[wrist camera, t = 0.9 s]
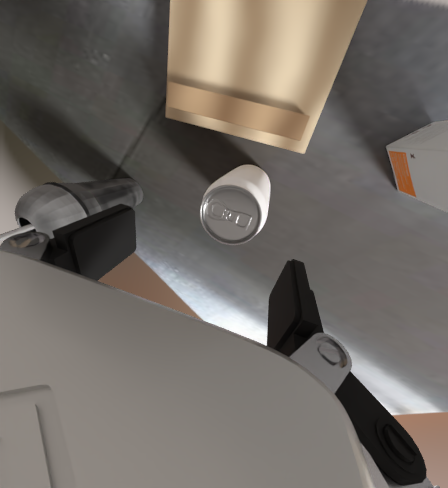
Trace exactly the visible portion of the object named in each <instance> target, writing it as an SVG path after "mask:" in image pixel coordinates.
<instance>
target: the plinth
mask: <svg viewBox="0 0 448 488" xmlns="http://www.w3.org/2000/svg"><path fill="white" fill-rule="evenodd" d="M366 3H367V0H170V19H169V43H168V68H167V92H166V117H167V118H171V119H174V120H178V121H182V122H186V123H190V124H193V125H197V126H201V127H205V128H208V129H212V130H216V131H220V132H223V133H227V134H231V135H235V136H239V137H242V138H246V139H250V140H254V141H257V142H261V143H265V144H269V145H273V146H276V147H280V148H284V149H288V150H291V151H295V152H299V153H303V154H304V153H305V151H306V148H307V146H308V143H309V141H310V138H311V136H312V134H313V131H314V129H315V126H316V124H317V121H318V119H319V117H320V114H321V112H322V109H323V107H324V104H325V102H326V100H327V97H328V95H329V92H330V90H331V87H332V85H333V83H334V80H335V78H336V75H337V73H338V70H339V68H340V66H341V63H342V61H343V58H344V56H345V53H346V51H347V49H348V46H349V44H350V41H351V39H352V36H353V34H354V32H355V29H356V27H357V24H358V22H359V20H360V17H361V15H362V12H363V10H364V7H365V5H366Z"/></svg>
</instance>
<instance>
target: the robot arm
mask: <svg viewBox="0 0 448 488" xmlns="http://www.w3.org/2000/svg"><path fill="white" fill-rule="evenodd" d="M52 232H53V235H54V238H52V239H50V237H49V235H48V234H46V233H42V232H25V233H19V234H16V235H13V236H11V237H9V238H7V239H6V240H4V241H3V243H2V244H1V245H0V488H440V487H439V486H433V485H432V484H431V482H430V481H429V479H428V478H427V477H426V467H425V463H424V459H423V457H422V455H421V453H420V451H419V448H418V447H417V445H416V444H415V443H414V441H413V439H412V438H411V437H410V435H409V434H408V433H407V431H406V430H405V429H404V428H403V427H402V426H401V425H400V424H399V423H398V422H397V420H396V419H395V418H394V417H393V416H392V415H391V414H390V413H389V412H388V411H387V410H386V409H385V408H384V407H383V406H382V405H381V403H380V402H379V401H378V400H377V399H376V398H375V397H374V396H373V395H372V394H371V393H370V392H369V391H368V390H367V389H366V388H365V386H364V385H363V384H362V383H361V382H360V381H359V380H358V379H357V378H356V377H355V376H354V375H353V374H352V373H351V372H350V370H351V367H352V361H351V358H350V355H349V353H348V352H347V350H346V349H345V347H344V346H343V345H342V344H341V343H340V342H339V341H338V340H336V339H335V338H334V337H332V336H330V335H328V334H325V333H324V332H323V328H322V324H321V320H320V316H319V312H318V308H317V304H316V300H315V296H314V293H313V291H312V290H310V287H309V283H308V279H307V274H306V270H305V266H304V263H303V262H300V261H297V260H294V259H293V260H291V261H287V263H286V265H285V267H284V269H283V271H282V273H281V274H280V276H279V278H278V280H277V282H276V284H275V286H274V288H273V290H272V292H271V294H270V297H269V310H268V335H267V346H265V345H263V344H261V343H259V342H256V341H254V340H251V339H249V338H246V337H244V336H241V335H239V334H236V333H234V332H231V331H229V330H226V329H224V328H221V327H218V326H216V325H213V324H211V323H208V322H205V321H203V320H200V319H197V318H195V317H192V316H190V315H187V314H184V313H182V312H179V311H176V310H174V309H171V308H169V307H166V306H163V305H160V304H158V303H155V302H152V301H150V300H147V299H144V298H142V297H139V296H136V295H134V294H131V293H128V292H126V291H123V290H120V289H118V288H115V287H112V286H110V285H107V284H104V283H101V282H99V281H97V280H99V279H100V278H101V277H102V276H104V275H105V274H106V273H108V272H109V271H110V270H112V269H113V268H114V267H115V266H117V265H118V264H119V263H121V262H122V261H123V260H124V259H126V258H127V257H128V256H130V255H131V254H132V253H133V252H134V251H135V250H136V230H135V211H134V210H133V208H132V207H131V206H128V205H125V204H118V205H116V206H113V207H111V208H108V209H106V210H103V211H101V212H98V213H96V214H93V215H91V216H88V217H86V218H83V219H81V220H78V221H76V222H73V223H70V224H68V225H65V226H63V227H60V228H58V229H55V230H53V231H52Z"/></svg>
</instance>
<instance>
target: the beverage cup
mask: <svg viewBox="0 0 448 488" xmlns="http://www.w3.org/2000/svg"><path fill="white" fill-rule="evenodd" d="M142 200H143V191H142V189H141V187H140V185H139V184H138V183H137V182H136V181H135V180H133V179H130V178H124V179H122V178H120V179H109V180H100V181H91V182H82V183H54V182H51V183H50V182H49V183H45V184H43V185H41V186H38V187H35V188H33V189H32V190H30V191H28V192H27V193H25V194H24V195H23V196H22V197H21V198H20V199H19V201H18V203H17V205H16V209H15V216H16V221H17V223H18V225H19V227H20V228H17V229H15V230H12V231H9V232H6V233H3V234H0V241H2V240H5V239H7V238H9V237H11V236H13V235H16V234H19V233H25V232H42V233H46V234H48V235H49V237H50V239H52V238H54V235H53V232H52V231H53V230H55V229H58V228H60V227H63V226H65V225H68V224H70V223H73V222H76V221H78V220H81V219H83V218H86V217H88V216H91V215H93V214H96V213H98V212H101V211H103V210H106V209H108V208H111V207H113V206H116V205H118V204H125V205H128V206H131V207H132V208H134V207H135V206H136V205H138V204H140V203H141V202H142Z"/></svg>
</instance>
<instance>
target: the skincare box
mask: <svg viewBox="0 0 448 488" xmlns="http://www.w3.org/2000/svg"><path fill="white" fill-rule="evenodd" d="M386 149H387V152H388V155H389V159H390V162H391V166H392V169H393V173H394V177H395V182H396V185H397V190H398V192H400V193H403V194H405V195H407V196H410V197H412V198H414V199H417V200H419V201H421V202H424V203H426V204H428V205H431V206H433V207H435V208H438V209H440V210H442V211H445V212H447V213H448V120H444V121H436V122H432V123H430V124H428V125H426V126H424V127H422V128H420V129H418V130H416V131H414V132H412V133H410V134H409V135H407V136H405V137H403V138H401V139H399V140H397V141H395V142H393V143H391V144H389V145H387V146H386Z"/></svg>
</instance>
